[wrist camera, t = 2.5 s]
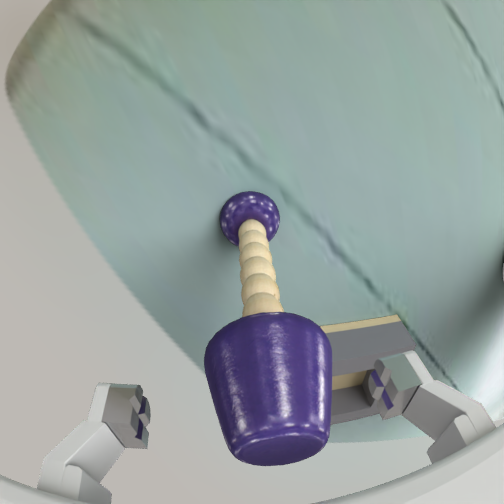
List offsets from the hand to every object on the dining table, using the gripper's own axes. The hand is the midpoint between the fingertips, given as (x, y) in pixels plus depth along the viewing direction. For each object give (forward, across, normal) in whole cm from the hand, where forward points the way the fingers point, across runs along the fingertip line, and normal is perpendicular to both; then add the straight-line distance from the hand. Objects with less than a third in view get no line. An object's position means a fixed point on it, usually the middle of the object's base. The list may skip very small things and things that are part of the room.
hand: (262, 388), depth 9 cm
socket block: (+14, -10, +17) cm, 24 cm away
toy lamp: (+14, -1, 0) cm, 14 cm away
